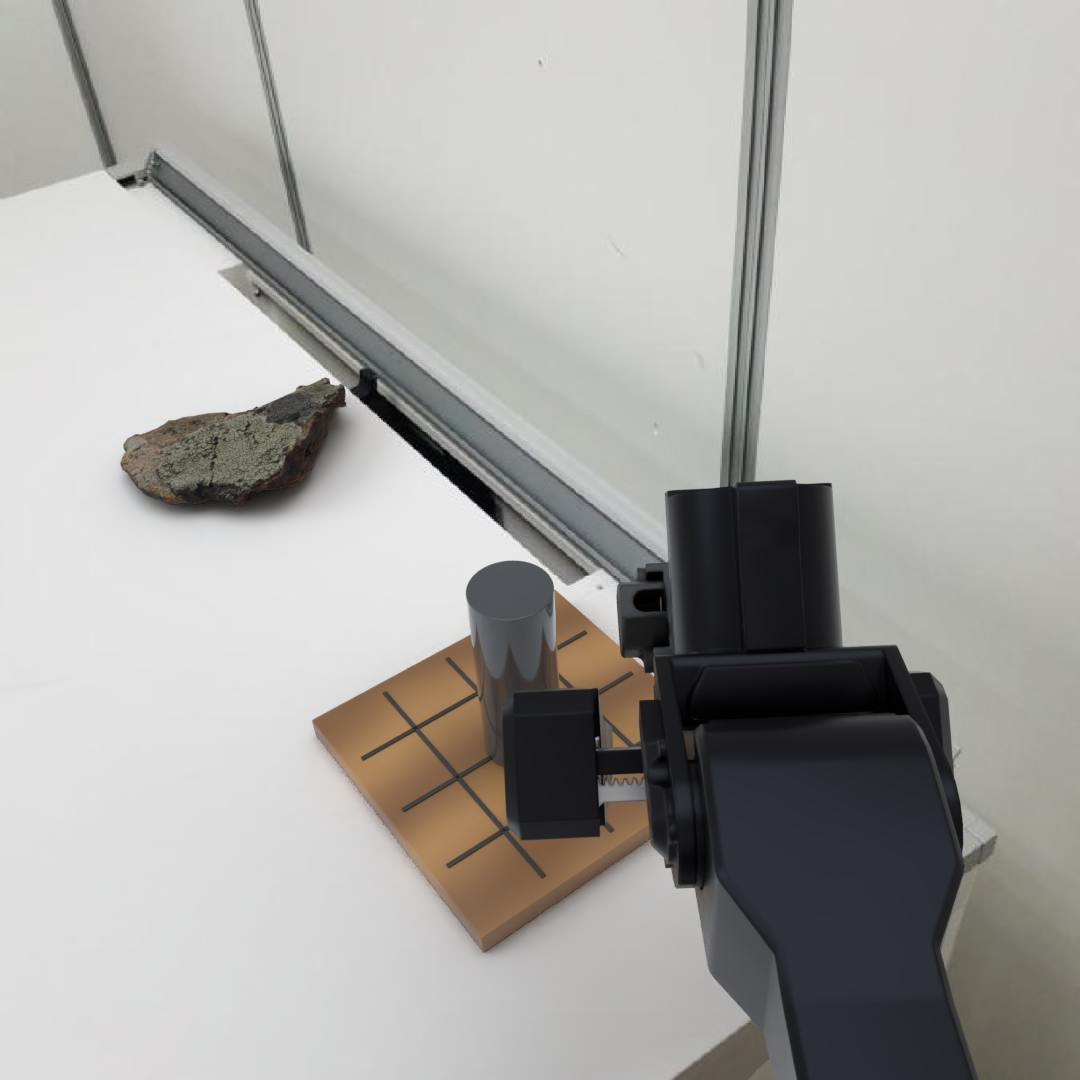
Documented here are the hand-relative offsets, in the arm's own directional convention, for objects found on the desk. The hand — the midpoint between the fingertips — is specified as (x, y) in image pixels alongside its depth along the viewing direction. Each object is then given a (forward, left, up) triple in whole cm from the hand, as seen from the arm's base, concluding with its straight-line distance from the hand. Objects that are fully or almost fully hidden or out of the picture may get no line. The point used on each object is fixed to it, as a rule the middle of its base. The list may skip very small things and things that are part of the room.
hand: (699, 736), depth 57 cm
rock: (+52, +21, -14) cm, 58 cm away
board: (+13, +6, -14) cm, 20 cm away
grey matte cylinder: (+13, +6, -12) cm, 18 cm away
